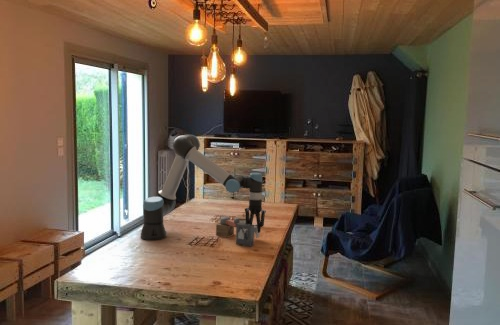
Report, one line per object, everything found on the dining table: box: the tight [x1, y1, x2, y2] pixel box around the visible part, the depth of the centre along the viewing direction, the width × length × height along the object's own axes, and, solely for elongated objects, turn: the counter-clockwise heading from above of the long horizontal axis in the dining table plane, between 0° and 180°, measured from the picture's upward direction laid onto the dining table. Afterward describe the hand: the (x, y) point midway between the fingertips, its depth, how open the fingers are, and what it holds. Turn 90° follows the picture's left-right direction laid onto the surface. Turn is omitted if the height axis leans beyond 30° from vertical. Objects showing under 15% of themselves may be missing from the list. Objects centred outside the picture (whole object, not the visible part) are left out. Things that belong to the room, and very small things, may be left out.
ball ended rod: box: [219, 216, 239, 228], centre depth 270 cm, size 16×6×5 cm, turn 39°
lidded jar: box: [234, 213, 250, 229], centre depth 292 cm, size 11×11×9 cm
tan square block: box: [215, 222, 235, 238], centre depth 275 cm, size 8×8×7 cm
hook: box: [238, 223, 257, 239], centre depth 260 cm, size 20×4×6 cm, turn 152°
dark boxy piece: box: [235, 223, 255, 248], centre depth 256 cm, size 4×10×12 cm, turn 62°
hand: (254, 237), depth 267 cm, fingers closed on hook, 3 cm apart
